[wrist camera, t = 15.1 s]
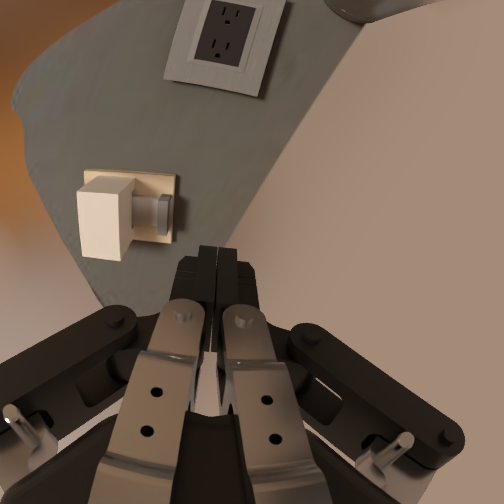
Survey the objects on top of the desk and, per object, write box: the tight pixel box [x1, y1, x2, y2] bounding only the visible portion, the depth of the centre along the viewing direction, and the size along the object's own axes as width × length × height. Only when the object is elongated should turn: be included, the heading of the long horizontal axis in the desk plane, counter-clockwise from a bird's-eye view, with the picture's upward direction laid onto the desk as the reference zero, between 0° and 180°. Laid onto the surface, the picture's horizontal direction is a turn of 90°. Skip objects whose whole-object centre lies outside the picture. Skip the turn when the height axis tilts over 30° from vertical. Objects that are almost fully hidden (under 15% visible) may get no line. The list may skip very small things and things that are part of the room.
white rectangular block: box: [77, 175, 135, 261], centre depth 33 cm, size 8×5×6 cm, turn 170°
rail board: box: [84, 169, 176, 243], centre depth 35 cm, size 9×12×3 cm
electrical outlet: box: [163, 0, 286, 97], centre depth 26 cm, size 13×10×2 cm
